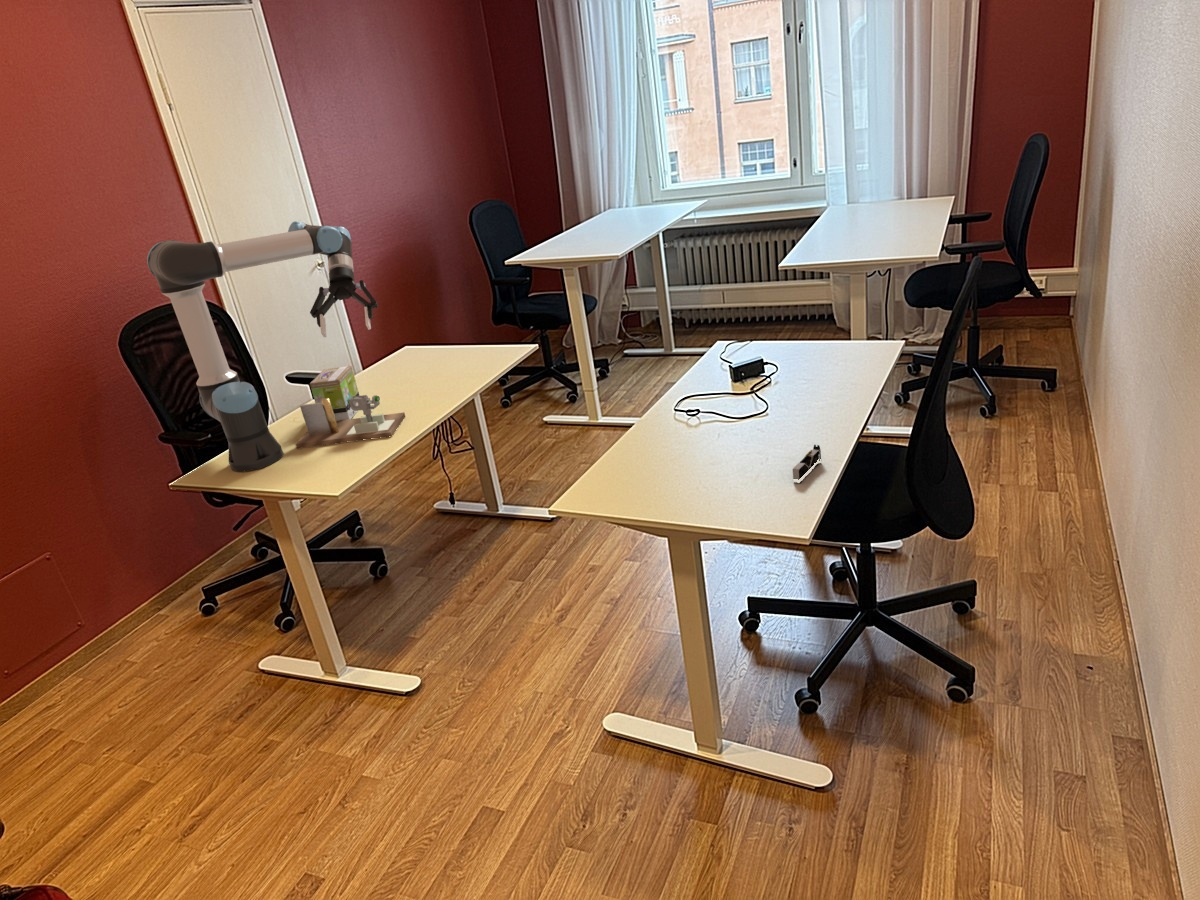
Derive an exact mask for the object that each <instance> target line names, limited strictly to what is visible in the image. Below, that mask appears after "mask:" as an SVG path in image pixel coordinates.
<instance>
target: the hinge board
mask: <svg viewBox="0 0 1200 900" xmlns="http://www.w3.org/2000/svg"><path fill="white" fill-rule="evenodd" d="M299 408H300V411H301V414H302V417H303V419H304V420H303V421H304V423H305V426H306V429H307V431H306V432H305V433H304V434H303V436H301V438H299V440H297V442H296V443H295V446H296V449H304V448H305V449H306V448H311V447H312V448H313V447H319V446H328V444H330V445H336V444H335V443H338V444H342V443H341V442H346V443H348V442H347V441H354V442H357V441H356V440H362V441H364V440H363V439H370V440H372V439H371V438H378V439H381V438H380V437H386V438H390V437H389V436H392V435H393V436H394V434H395V433H396V432H395V431H397V430H398V429H399V427H400V426H401V424H402V423H403V422H404V420H405V418H406V414H405V412H404V411H403V412H397V413H395V412H394V413H390V414H389V413H388V414H384V413H378V414H377V413H376V414H371V416H372V419H373V422H368V421H367V418H366V415H363V416H361V417H358V418H352V419H348V420H340V421H336V419H335V416H334V413H333V409H332V406H331V403H330V400H329V398H324V399H322V400H321V403H315V402H314V403H313V402H312V403H307V404H300V405H299ZM403 419H404V420H403ZM401 422H402V423H401ZM399 425H400V426H399ZM397 428H398V429H397ZM396 429H397V430H396ZM394 432H395V433H394ZM393 436H392V437H393Z"/></svg>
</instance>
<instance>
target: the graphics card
mask: <svg viewBox="0 0 1200 900" xmlns="http://www.w3.org/2000/svg"><path fill="white" fill-rule="evenodd" d="M821 451H822V449H821V446H820V445H819V444H813V448H812V449H810V450H809V451H808V452H807V453H806V454H805V455H804V457H803V458H802V459H801V460H800V461H799V462H797V464H796V465H795V466H793V468H792V480H793V479H798V480H799V479H800V478H801V477H802V476H803V475H804V474H805V473H806V472H807V471H808V470H809V469H810V468H811V467H812V466H813V465H814V463H816V462H817V460H818V459H819V460H820V459H821V460H822V452H821Z"/></svg>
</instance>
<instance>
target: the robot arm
mask: <svg viewBox="0 0 1200 900" xmlns="http://www.w3.org/2000/svg"><path fill="white" fill-rule="evenodd" d="M352 246H353V244H352V238H351V234H350V232H349V230H348V229H347V228H346V227H344V226H335V225H333V226H331V225H330V226H329V225H313V224H308V223H305V222H300V221H296V220H295V221H292V222H291V224H290V225H289V227H288V230H287V232H281V233H277V234H276V233H275V234H269V235H263V236H258V237H252V238H247V239H241V240H240V239H239V240H235V241H234V240H233V241H230V242H228V241H227V242H223V243H218V244H217V243H216V242H215V243H214V241H207V242H184V241H178V240H173V239H170V240H163V241H160V242H157V243H156V244H154V245H153V246H152V247H151V248H150V249H149V251H148V254H147V257H146V262H147V267H148V269H149V271H150V273H151V275H153V276H154V277H155V280H156V282H157V284H158V287H159V290H160V293H161V295H163V296H166V297H167V298H169V300H170V302H171V305H172V307H173V310H174V313H175V315H176V318H177V320H178V324H179V326H180V329H181V332H182V334H183V337H184V339H185V343H186V345H187V347H188V349H189V354H190V355H191V358H192V360H193V363H194V365H195V369H196V371H197V374H198V379H197V381H196V387H197V390H198V392H199V398H198V399H199V403H200V406H201V407H202V409H203V411H204V412H205V414H207V416H209V417H211V418H213V419H215V420H217V421H218V422H219V423H220V424H221V426H222V429H223V432H224V434H225V437H226V439H227V440H226V441H227V442H228V465H229V466H230V469H231V470H232V471H233V472H238V473H240V472H241V473H242V472H243V473H244V472H245V473H246V472H250V471H256V470H259V469H262V468H265V467H268V466H271V465H272V464H275V463H276V462H277V461H279V460H280V459H281V458H282V457H283V455H284V450H283V447H282V446H281V444H280V443H279V442H278V440H277V439H276V438H275V437H274V436H273V434H272V433H271V431H270V429H269V427H268V424H267V421H266V418H265V414H264V411H263V408H262V406H261V403H260V399H259V395H258V393H257V391H256V389H255V387H254V386H253V385H252V384H251V383H249V382H247V381H240V378H239V375H238V372H237V371H234V370H233V369H231V368H230V366H229V363H228V361H227V357H226V355H225V352H224V349H223V346H222V345H221V344H222V343H221V342H220V341H221V340H220V338H219V336H218V333H217V330H216V327H215V325H214V321H213V319H212V316H211V314H210V310H209V307H208V304H207V302H206V299H205V297H204V296H205V295H204V294H203V290H204V288H205V285H206V282H205V281H208V280H211V279H217V278H221V277H223V276H224V275H225V274H226V273H228V272H233V271H238V270H242V269H247V268H253V267H257V266H263V265H268V264H272V263H277V262H281V261H287V260H292V259H299V258H302V257H307V256H313V255H319V254H320V255H324V256H326V257H327V265H328V266H327V267H328V281H329V282H328V283H329V286H328V287H323V286H320V287H319V288H318V295H317V297H316V298H315V301H314V302H313V305H312V307H311V308H310V311H309V314H310V315H311V317H312V318H313V319H316V324H317V326H318V327H319V328H320V333H321V335H322V336H323V338H327V327H326V325H327V324H326V318H325V315H326V314H327V312H328V311H329V310H330V309H331V308H332V306H333V305H334V304H335V303H336V302H337V301H338V300H339V301H343V300H349V299H350V298H352V299H353V300H355V301H357V302H358V303H359V304H361V305H362V306H363V307H364V317H365V318H364V320H365V326H366V328H367V330H368V331H369V330H371V329H372V326H371V319H374V314H373V313H374V312H373V309H376V308H378V307H379V305H378V302H377V300H376V299H375V297H373V295H372V294H371V293H370V292H369V290H368V289H367V286H366V283H365V282H364V280H363V279H360V280H359V282H355V273H354V259H353V251H352V250H353V248H352ZM357 288H358V289H359V290H361V291H362V292H363V294H364V295H365V297H367V299H368V300H369V302H368V300H366V299H365V298H363V297H362V296H361V295H360V294H359V293H357V292H356V290H357ZM326 296H327V298H326ZM325 299H326V300H325Z"/></svg>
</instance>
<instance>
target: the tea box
mask: <svg viewBox="0 0 1200 900" xmlns="http://www.w3.org/2000/svg"><path fill="white" fill-rule="evenodd" d="M355 377H356V376H355V374H354V370H353V367H352V366H351V365H347V366H340V367H332V368H326V369H323V370H321V371H320V373H319V374H317V376H316V377H314V379H313V380H312V381H311V382H310V383H309V387H310V390H311V393H312V396H313V400H314V403H321V400H322V399H324V398H329V400H330V403H331V406H332V409H333V413H334V416H335V419H336V421H340V420H348V419H353V417H354V416H355V415H356V413H358V411H354V410H352V409H351V406H350V404H348V402H347V400H348V399H350V398H351V397H352V396H360V391H359V389H358V388H359V387H358V385H357V381H356V379H355Z"/></svg>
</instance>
